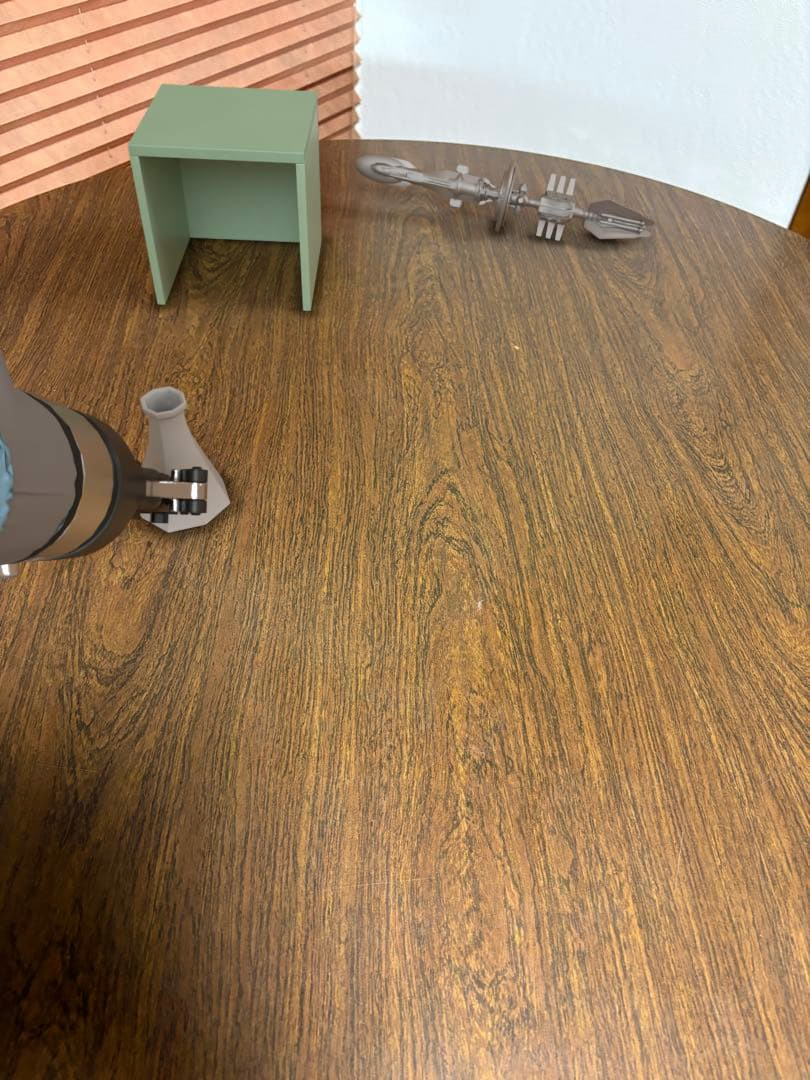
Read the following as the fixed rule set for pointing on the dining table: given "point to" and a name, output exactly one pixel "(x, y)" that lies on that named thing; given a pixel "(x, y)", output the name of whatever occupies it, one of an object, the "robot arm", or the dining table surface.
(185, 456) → the flask
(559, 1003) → the dining table surface
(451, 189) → the spaceship
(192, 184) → the green open shelf box
